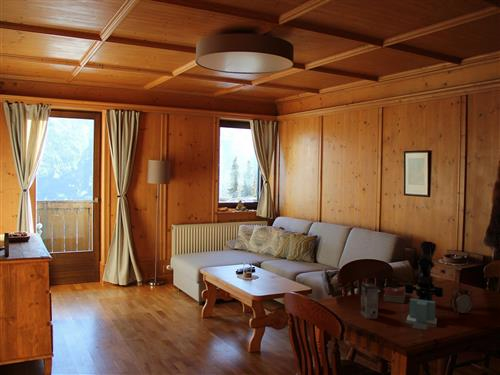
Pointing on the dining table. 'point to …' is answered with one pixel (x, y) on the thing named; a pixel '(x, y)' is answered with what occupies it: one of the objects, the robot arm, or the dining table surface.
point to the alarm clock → (461, 300)
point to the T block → (422, 310)
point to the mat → (421, 325)
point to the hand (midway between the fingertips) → (422, 304)
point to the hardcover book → (394, 295)
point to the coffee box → (369, 300)
